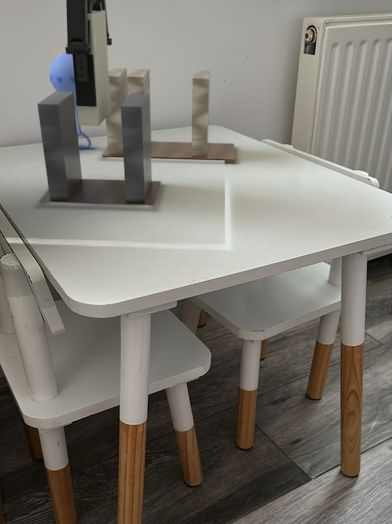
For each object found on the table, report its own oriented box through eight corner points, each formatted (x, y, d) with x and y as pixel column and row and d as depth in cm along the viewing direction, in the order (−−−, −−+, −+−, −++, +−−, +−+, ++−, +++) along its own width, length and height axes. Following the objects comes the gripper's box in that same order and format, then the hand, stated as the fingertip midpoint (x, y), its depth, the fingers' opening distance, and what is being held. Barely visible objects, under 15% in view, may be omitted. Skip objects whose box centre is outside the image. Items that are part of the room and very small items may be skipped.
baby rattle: (59, 155, 112) (46, 55, 102) (57, 144, 119) (46, 49, 109) (102, 153, 114) (94, 54, 103) (98, 143, 120) (91, 49, 110)
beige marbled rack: (102, 160, 110) (96, 76, 101) (112, 144, 119) (107, 67, 111) (234, 164, 109) (239, 80, 100) (233, 148, 119) (237, 70, 110)
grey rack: (39, 207, 87) (24, 105, 79) (58, 183, 97) (47, 90, 89) (154, 211, 87) (151, 108, 78) (161, 186, 97) (159, 93, 88)
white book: (78, 125, 81) (69, 13, 73) (92, 111, 89) (84, 9, 82) (99, 126, 81) (91, 14, 73) (110, 112, 89) (105, 10, 81)
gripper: (93, -98, 62) (105, 115, 74) (123, -81, 80) (129, 87, 93) (25, -100, 62) (49, 113, 74) (72, -83, 81) (84, 85, 93)
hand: (94, 99), depth 84 cm, fingers closed on white book, 10 cm apart
